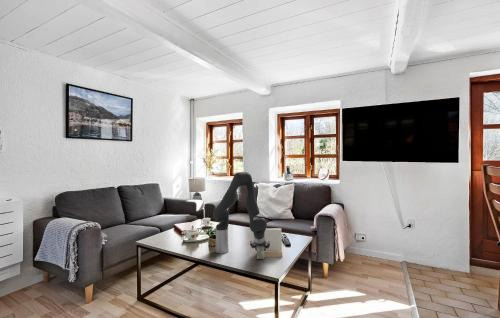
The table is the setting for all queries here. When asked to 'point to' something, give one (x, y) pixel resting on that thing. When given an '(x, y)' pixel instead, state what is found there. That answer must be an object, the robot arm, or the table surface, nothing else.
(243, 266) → the table surface
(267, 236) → the wall board
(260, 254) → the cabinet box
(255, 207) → the robot arm
